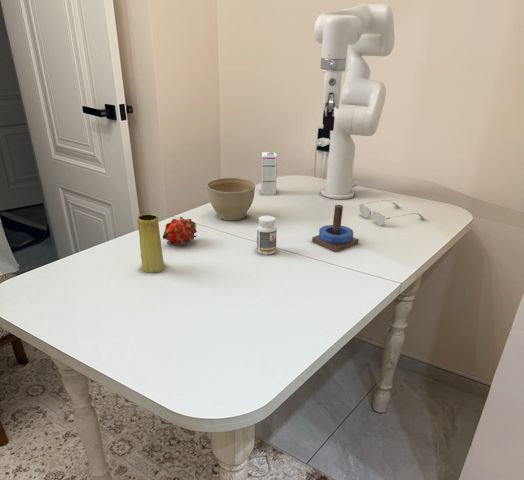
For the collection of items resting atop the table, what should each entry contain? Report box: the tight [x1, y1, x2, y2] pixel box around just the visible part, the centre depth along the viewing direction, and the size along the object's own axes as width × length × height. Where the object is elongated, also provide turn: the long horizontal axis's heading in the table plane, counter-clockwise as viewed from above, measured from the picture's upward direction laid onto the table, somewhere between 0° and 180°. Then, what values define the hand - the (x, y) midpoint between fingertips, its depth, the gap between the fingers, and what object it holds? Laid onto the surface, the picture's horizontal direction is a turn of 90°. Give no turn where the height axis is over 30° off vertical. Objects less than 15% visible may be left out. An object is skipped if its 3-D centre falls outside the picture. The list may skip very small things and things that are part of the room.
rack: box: [311, 204, 359, 253], centre depth 149 cm, size 10×10×12 cm
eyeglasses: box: [358, 199, 425, 226], centre depth 171 cm, size 15×18×4 cm
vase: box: [136, 213, 166, 274], centre depth 131 cm, size 6×6×14 cm
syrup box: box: [260, 151, 278, 196], centre depth 189 cm, size 6×6×14 cm
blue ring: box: [318, 224, 354, 244], centre depth 151 cm, size 10×10×2 cm
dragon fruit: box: [162, 216, 198, 247], centre depth 147 cm, size 8×8×12 cm
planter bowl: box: [206, 177, 256, 221], centre depth 167 cm, size 16×16×11 cm
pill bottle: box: [256, 215, 277, 255], centre depth 143 cm, size 6×6×10 cm
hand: (327, 127), depth 157 cm, fingers open, 9 cm apart
